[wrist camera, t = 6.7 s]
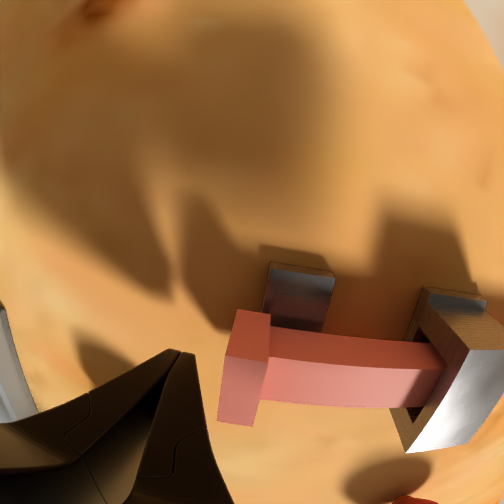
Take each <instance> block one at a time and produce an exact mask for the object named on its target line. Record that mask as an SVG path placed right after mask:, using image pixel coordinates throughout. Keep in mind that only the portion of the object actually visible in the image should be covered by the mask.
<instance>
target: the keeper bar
mask: <svg viewBox="0 0 504 504" xmlns="http://www.w3.org/2000/svg"><path fill="white" fill-rule="evenodd" d="M270 319H271V314H266V313H259V312H253V311H247V310H242V309H237V313H236V316H235V320H234V324H233V328H232V331H231V335H230V339H229V343H228V347H227V350H226V354H225V360H224V368H223V375H222V383H221V391H220V398H219V406H218V414H217V421H220V422H226V423H231V424H237V425H244V426H250V427H253V423H254V419H255V415H256V412H257V408H258V404H259V399H263V400H271V401H278V402H287V403H296V404H307V405H319V406H334V407H357V408H405V407H424V406H425V404H426V403H427V401H428V400H429V398H430V396H431V394H432V393H433V391H434V389H435V388H436V386H437V384H438V382H439V380H440V379H441V377H442V375H443V373H444V371H445V369H446V367H447V363H446V362H445V361H444V359H443V358H442V356H441V355H440V354H439V352H438V351H437V350H436V348H435V347H434V345H433V344H432V343H418V342H404V341H391V340H379V339H369V338H359V337H350V336H341V335H332V334H324V333H316V332H308V331H301V330H294V329H287V328H280V327H274V326H270ZM501 398H504V393H503V394H502V396H501Z"/></svg>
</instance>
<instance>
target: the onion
mask: <svg viewBox="0 0 504 504" xmlns="http://www.w3.org/2000/svg"><path fill="white" fill-rule="evenodd" d="M392 504H438V503H437V502H434V501H430V500H426V499H419V498H413V497H411V496H407V495H404V496H401V497H398V498H397V499H395V501H394V502H393V503H392Z"/></svg>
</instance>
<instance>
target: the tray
mask: <svg viewBox="0 0 504 504" xmlns="http://www.w3.org/2000/svg"><path fill="white" fill-rule="evenodd" d="M35 414H38V411H37V408H36V406H35V404H34V401H33V399H32V396H31V394H30V391H29V388H28V386H27V383H26V380H25V377H24V375H23V372H22V369H21V366H20V363H19V359H18V356H17V353H16V350H15V346H14V343H13V339H12V335H11V332H10V328H9V324H8V319H7V315H6V311H5V309H4V308H2V307H0V423H8V422H13V421H17V420H20V419H23V418H26V417H29V416H32V415H35Z"/></svg>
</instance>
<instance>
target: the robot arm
mask: <svg viewBox="0 0 504 504" xmlns="http://www.w3.org/2000/svg"><path fill="white" fill-rule="evenodd" d="M0 504H234V502H233V500H232V498H231V495H230V493H229V491H228V489H227V487H226V484H225V482H224V480H223V478H222V475H221V473H220V471H219V468H218V466H217V463H216V460H215V457H214V454H213V451H212V447H211V443H210V439H209V434H208V429H207V424H206V419H205V413H204V408H203V402H202V396H201V390H200V384H199V377H198V371H197V364H196V357H195V355H194V354H192V353H187V352H182V353H181V351H178V350H174V349H166V350H165V351H163V352H161V353H159V354H158V355H156V356H154V357H152V358H150V359H149V360H147V361H145V362H143V363H141V364H140V365H138V366H136V367H134V368H132V369H130V370H129V371H127V372H125V373H123V374H121V375H119V376H117V377H116V378H114V379H112V380H110V381H108V382H106V383H104V384H102V385H100V386H99V387H97V388H95V389H93V390H91V391H89V394H88V393H85V394H83V395H81V396H79V397H77V398H75V399H73V400H71V401H69V402H66V403H64V404H62V405H59V406H57V407H54V408H52V409H49V410H46V411H44V412H41V413H38V414H35V415H32V416H29V417H26V418H23V419H20V420H17V421H13V422H8V423H0Z"/></svg>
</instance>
